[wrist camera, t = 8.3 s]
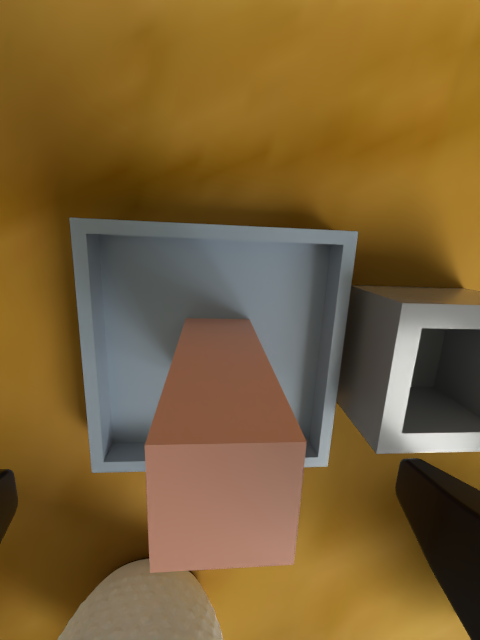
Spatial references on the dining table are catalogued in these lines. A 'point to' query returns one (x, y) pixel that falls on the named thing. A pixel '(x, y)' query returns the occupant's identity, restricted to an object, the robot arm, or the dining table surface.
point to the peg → (222, 456)
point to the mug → (145, 608)
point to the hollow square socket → (412, 368)
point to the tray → (205, 302)
